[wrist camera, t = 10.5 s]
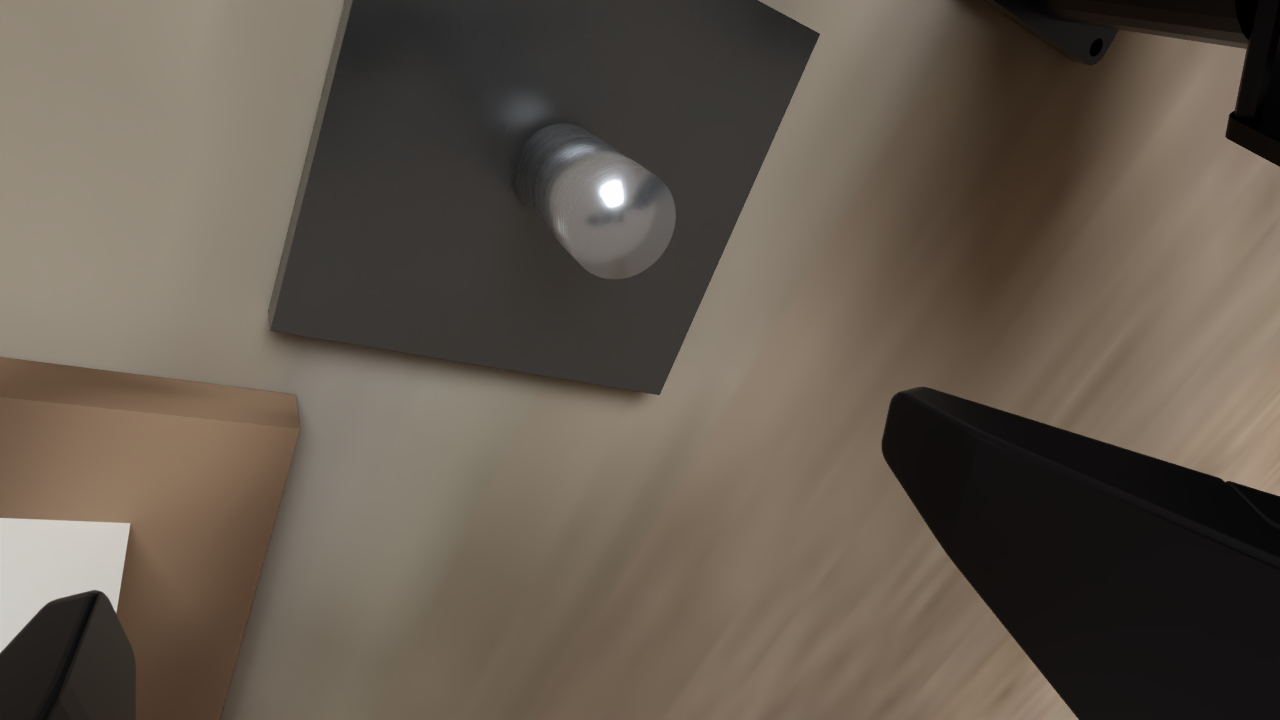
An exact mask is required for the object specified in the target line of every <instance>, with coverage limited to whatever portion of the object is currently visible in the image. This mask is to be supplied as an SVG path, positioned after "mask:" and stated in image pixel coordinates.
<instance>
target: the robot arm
mask: <svg viewBox="0 0 1280 720" xmlns="http://www.w3.org/2000/svg"><path fill="white" fill-rule="evenodd" d="M984 1H986V2H987V3H989V4H990V5H992V6H993V7H995V8H996V9H998V10H999V11H1001V12H1002V13H1004V14H1005V15H1007V16H1008V17H1010V18H1011V19H1013V20H1014V21H1016V22H1017V23H1018V24H1020V25H1021V26H1023V27H1024V28H1026V29H1027V30H1029V31H1030V32H1032V33H1033V34H1035V35H1036V36H1038V37H1039V38H1041V39H1042V40H1044V41H1045V42H1047V43H1048V44H1049V45H1051V46H1052V47H1054V48H1055V49H1057V50H1058V51H1060V52H1061V53H1063V54H1064V55H1066V56H1067V57H1069V58H1070V59H1072V60H1073V61H1075V62H1077V63H1082V64H1087V65H1093V64H1096V63H1097V62H1098V61H1100V60H1101V59H1102V57H1103V56H1104V54H1105V53H1106V51H1107V49H1108V48H1109V46H1110V44H1111V42H1112V41H1113V39H1114V37H1115V35H1116V33H1117V32H1118V30H1125V31H1132V32H1138V33H1145V34H1152V35H1158V36H1165V37H1171V38H1178V39H1185V40H1191V41H1198V42H1204V43H1211V44H1218V45H1224V46H1231V47H1237V48H1244V49H1247V51H1246V56H1245V61H1244V66H1243V71H1242V76H1241V81H1240V87H1239V92H1238V97H1237V102H1236V107H1235V111H1233V112H1232V113H1231V114H1229V120H1228V125H1227V130H1226V136H1225V137H1226V138H1227V139H1229V140H1231V141H1233V142H1235V143H1236V144H1238V145H1240V146H1242V147H1244V148H1246V149H1248V150H1250V151H1251V152H1253V153H1255V154H1257V155H1259V156H1261V157H1263V158H1265V159H1266V160H1268V161H1270V162H1272V163H1274V164H1276V165H1278V166H1279V167H1280V0H984ZM882 452H883V456H884V458H885V461H886V462H887V464H888V465H889V467H890V469H891V470H892V472H893V473H894V475H895V476H896V478H897V479H898V481H899V482H900V484H901V485H902V487H903V488H904V490H905V492H906V493H907V495H908V496H909V498H910V499H911V501H912V502H913V504H914V505H915V507H916V508H917V510H918V511H919V513H920V515H921V516H922V518H923V519H924V521H925V522H926V524H927V525H928V527H929V528H930V530H931V531H932V533H933V534H934V536H935V537H936V539H937V540H938V542H939V543H940V545H941V546H942V548H943V549H944V551H945V552H946V553H947V555H948V556H949V557H950V559H951V560H952V561H953V563H954V564H955V565H956V567H957V568H958V569H959V570H960V572H961V573H962V574H963V575H964V577H965V578H966V579H967V580H968V582H969V583H970V584H971V585H972V587H973V588H974V589H975V590H976V592H977V593H978V594H979V595H980V597H981V598H982V599H983V600H984V602H985V603H986V604H987V605H988V607H989V608H990V609H991V610H992V612H993V613H994V614H995V615H996V617H997V618H998V619H999V620H1000V622H1001V623H1002V624H1003V625H1004V627H1005V628H1006V629H1007V630H1008V632H1009V633H1010V634H1011V635H1012V637H1013V638H1014V639H1015V640H1016V642H1017V643H1018V644H1019V645H1020V647H1021V648H1022V649H1023V650H1024V652H1025V653H1026V654H1027V655H1028V657H1029V658H1030V659H1031V660H1032V662H1033V663H1034V664H1035V665H1036V667H1037V668H1038V669H1039V670H1040V672H1041V673H1042V674H1043V675H1044V677H1045V678H1046V679H1047V680H1048V682H1049V683H1050V684H1051V685H1052V687H1053V688H1054V689H1055V690H1056V692H1057V693H1058V694H1059V695H1060V697H1061V698H1062V699H1063V700H1064V702H1065V703H1066V704H1067V705H1068V707H1069V708H1070V709H1071V710H1072V712H1073V713H1074V714H1075V715H1076V717H1077V718H1078V719H1079V720H1280V496H1277V495H1273V494H1270V493H1266V492H1263V491H1260V490H1257V489H1253V488H1250V487H1247V486H1244V485H1241V484H1237V483H1234V482H1231V481H1227V482H1224V481H1223V480H1222V479H1220V478H1218V477H1214V476H1211V475H1208V474H1205V473H1201V472H1198V471H1195V470H1192V469H1189V468H1185V467H1182V466H1179V465H1176V464H1172V463H1169V462H1166V461H1163V460H1160V459H1156V458H1153V457H1150V456H1147V455H1143V454H1140V453H1137V452H1134V451H1131V450H1127V449H1124V448H1121V447H1118V446H1114V445H1111V444H1108V443H1105V442H1102V441H1098V440H1095V439H1092V438H1089V437H1085V436H1082V435H1079V434H1076V433H1073V432H1069V431H1066V430H1063V429H1060V428H1056V427H1053V426H1050V425H1047V424H1044V423H1040V422H1037V421H1034V420H1031V419H1027V418H1024V417H1021V416H1018V415H1015V414H1011V413H1008V412H1005V411H1002V410H998V409H995V408H992V407H989V406H985V405H982V404H979V403H976V402H973V401H969V400H966V399H963V398H960V397H956V396H953V395H950V394H947V393H944V392H940V391H937V390H934V389H931V388H927V387H917V388H913V389H909V390H905V391H901V392H898V393H897V394H895V395H894V396H893V398H892V399H891V402H890V405H889V410H888V415H887V419H886V424H885V428H884V433H883V438H882ZM0 720H136V661H135V656H134V652H133V648H132V646H131V644H130V641H129V639H128V637H127V635H126V633H125V631H124V629H123V627H122V625H121V623H120V621H119V618H118V616H117V614H116V612H115V610H114V608H113V606H112V604H111V602H110V600H109V598H108V597H107V596H106V595H105V594H104V593H103V592H101V591H98V590H91V591H87V592H83V593H79V594H75V595H71V596H67V597H63V598H59V599H56V600H53V601H50V602H49V603H47V604H46V605H45V606H44V607H43V608H41V609H40V611H39V612H38V613H37V614H36V615H35V616H34V617H33V618H32V619H31V620H30V621H29V622H28V623H27V624H26V626H25V627H24V628H23V629H22V630H21V631H20V632H19V633H18V634H17V635H16V636H15V637H14V638H13V640H12V641H11V642H10V643H9V644H8V645H7V646H6V647H5V648H4V649H3V650H2V651H1V652H0Z"/></svg>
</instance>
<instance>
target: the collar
mask: <svg viewBox="0 0 1280 720" xmlns="http://www.w3.org/2000/svg"><path fill="white" fill-rule="evenodd" d="M129 530H130V523H115V522H90V521H65V520H40V519H15V518H0V652H1V651H2V650H3V649H4V648H5V647H6V646H7V645H8V644H9V643H10V642H11V641H12V640H13V638H14V637H15V636H16V635H17V634H18V633H19V632H20V631H21V630H22V629H23V628H24V627H25V626H26V624H27V623H28V622H29V621H30V620H31V619H32V618H33V617H34V616H35V615H36V614H37V613H38V612H39V611H40V609H41V608H43V607H44V606H45V605H46V604H47V603H49V602H50V601H53V600H56V599H59V598H63V597H67V596H71V595H75V594H79V593H83V592H87V591H91V590H98V591H101V592H103V593H104V594H105V595H106V596H107V597H108V598H109V600H110V602H111V604H112V606H113V608H114V610H115V612H116V613H117V606H118V600H119V594H120V587H121V581H122V574H123V568H124V562H125V555H126V549H127V542H128V536H129Z"/></svg>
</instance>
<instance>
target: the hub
mask: <svg viewBox="0 0 1280 720" xmlns="http://www.w3.org/2000/svg"><path fill="white" fill-rule="evenodd" d="M299 432H300V422H299V415H298V407H297V400H296V395H294V394H286V393H278V392H270V391H263V390H255V389H247V388H239V387H231V386H223V385H215V384H207V383H200V382H192V381H184V380H176V379H168V378H160V377H152V376H144V375H137V374H129V373H121V372H113V371H105V370H97V369H89V368H81V367H74V366H66V365H58V364H50V363H42V362H34V361H26V360H18V359H11V358H3V357H0V518H15V519H40V520H65V521H90V522H115V523H130V530H129V536H128V542H127V549H126V555H125V562H124V568H123V574H122V581H121V587H120V594H119V600H118V606H117V613H116V614H117V616H118V618H119V621H120V623H121V625H122V627H123V629H124V631H125V633H126V635H127V637H128V639H129V641H130V644H131V646H132V648H133V652H134V656H135V661H136V720H220V718H221V714H222V711H223V707H224V703H225V700H226V696H227V693H228V689H229V685H230V682H231V678H232V675H233V671H234V667H235V664H236V660H237V656H238V653H239V649H240V646H241V642H242V638H243V635H244V631H245V627H246V624H247V620H248V617H249V613H250V609H251V606H252V602H253V598H254V595H255V591H256V588H257V584H258V580H259V577H260V573H261V570H262V566H263V562H264V559H265V555H266V551H267V548H268V544H269V541H270V537H271V533H272V530H273V526H274V522H275V519H276V515H277V512H278V508H279V504H280V501H281V497H282V494H283V490H284V486H285V483H286V479H287V475H288V472H289V468H290V465H291V461H292V457H293V454H294V450H295V446H296V443H297V439H298V436H299Z"/></svg>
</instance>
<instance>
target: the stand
mask: <svg viewBox="0 0 1280 720" xmlns="http://www.w3.org/2000/svg"><path fill="white" fill-rule="evenodd" d="M819 35H820V34H819V33H817V32H815V31H814V30H812V29H810V28H808V27H806V26H804V25H802V24H800V23H799V22H797V21H795V20H793V19H791V18H789V17H787V16H786V15H784V14H782V13H780V12H778V11H776V10H774V9H773V8H771V7H769V6H767V5H765V4H763V3H761V2H760V1H758V0H345V2H344V6H343V10H342V14H341V18H340V22H339V26H338V30H337V34H336V38H335V42H334V46H333V50H332V54H331V58H330V63H329V67H328V71H327V75H326V79H325V83H324V87H323V91H322V95H321V99H320V103H319V107H318V111H317V115H316V119H315V123H314V128H313V132H312V136H311V140H310V144H309V148H308V152H307V156H306V160H305V164H304V168H303V172H302V176H301V180H300V184H299V188H298V192H297V197H296V201H295V205H294V209H293V213H292V217H291V221H290V225H289V229H288V233H287V237H286V241H285V245H284V249H283V253H282V257H281V261H280V266H279V270H278V274H277V278H276V282H275V286H274V290H273V294H272V298H271V302H270V306H269V310H268V312H269V323H270V331H275V332H281V333H287V334H293V335H299V336H306V337H312V338H318V339H324V340H330V341H336V342H342V343H348V344H354V345H360V346H366V347H372V348H378V349H384V350H390V351H396V352H402V353H408V354H414V355H421V356H427V357H433V358H439V359H445V360H451V361H457V362H463V363H469V364H475V365H481V366H487V367H493V368H499V369H505V370H511V371H517V372H523V373H530V374H536V375H542V376H548V377H554V378H560V379H566V380H572V381H578V382H584V383H590V384H596V385H602V386H608V387H614V388H620V389H626V390H632V391H638V392H645V393H651V394H657V395H660V393H661V390H662V388H663V386H664V384H665V381H666V379H667V377H668V375H669V372H670V370H671V368H672V366H673V363H674V361H675V359H676V357H677V354H678V352H679V350H680V348H681V345H682V343H683V341H684V339H685V336H686V334H687V332H688V330H689V327H690V325H691V323H692V321H693V318H694V316H695V314H696V312H697V309H698V307H699V305H700V303H701V300H702V298H703V296H704V294H705V291H706V289H707V287H708V285H709V283H710V280H711V278H712V276H713V274H714V271H715V269H716V267H717V265H718V262H719V260H720V258H721V256H722V253H723V251H724V249H725V247H726V244H727V242H728V240H729V238H730V235H731V233H732V231H733V229H734V226H735V224H736V222H737V220H738V217H739V215H740V213H741V211H742V208H743V206H744V204H745V202H746V199H747V197H748V195H749V193H750V190H751V188H752V186H753V184H754V181H755V179H756V177H757V175H758V172H759V170H760V168H761V166H762V163H763V161H764V159H765V157H766V154H767V152H768V150H769V148H770V145H771V143H772V141H773V139H774V136H775V134H776V132H777V130H778V127H779V125H780V123H781V121H782V118H783V116H784V114H785V112H786V109H787V107H788V105H789V103H790V100H791V98H792V96H793V94H794V91H795V89H796V87H797V85H798V82H799V80H800V78H801V76H802V73H803V71H804V69H805V67H806V64H807V62H808V60H809V58H810V55H811V53H812V51H813V49H814V46H815V44H816V42H817V40H818V37H819Z"/></svg>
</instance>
